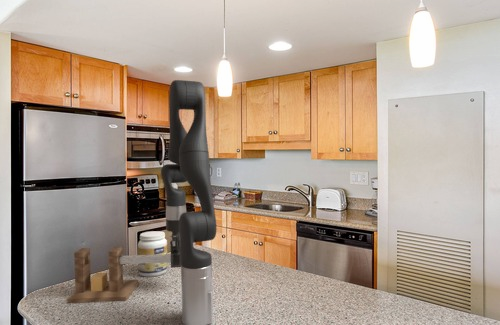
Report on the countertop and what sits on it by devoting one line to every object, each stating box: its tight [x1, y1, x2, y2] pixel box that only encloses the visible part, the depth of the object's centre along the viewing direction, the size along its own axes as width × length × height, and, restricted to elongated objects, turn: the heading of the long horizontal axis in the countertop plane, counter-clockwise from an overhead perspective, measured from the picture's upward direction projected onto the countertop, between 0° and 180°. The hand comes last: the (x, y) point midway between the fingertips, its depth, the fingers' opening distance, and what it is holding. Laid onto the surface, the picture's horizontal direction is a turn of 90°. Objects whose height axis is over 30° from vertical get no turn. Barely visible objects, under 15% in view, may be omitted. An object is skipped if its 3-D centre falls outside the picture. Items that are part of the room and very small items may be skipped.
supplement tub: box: [137, 230, 169, 278], centre depth 144 cm, size 12×12×17 cm
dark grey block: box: [119, 245, 181, 268], centre depth 124 cm, size 24×3×8 cm, turn 94°
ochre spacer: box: [90, 272, 109, 291], centre depth 124 cm, size 5×5×4 cm
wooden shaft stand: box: [66, 246, 140, 304], centre depth 123 cm, size 20×16×16 cm
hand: (177, 262), depth 125 cm, fingers closed on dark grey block, 3 cm apart
